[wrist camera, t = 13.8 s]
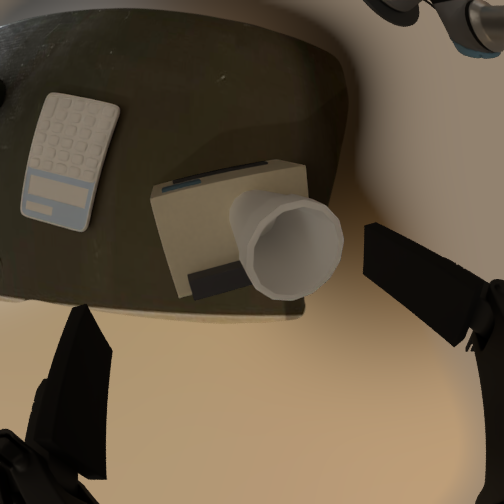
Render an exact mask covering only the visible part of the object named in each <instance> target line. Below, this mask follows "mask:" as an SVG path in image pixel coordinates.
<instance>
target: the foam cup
mask: <svg viewBox="0 0 504 504" xmlns="http://www.w3.org/2000/svg"><path fill="white" fill-rule="evenodd" d="M229 221H230V225H231V228H232V231H233V234H234V237H235V241H236V244H237V247H238V250H239V260H240V262H241V264H242V266H243V268H244V270H245V272H246V274H247V276H248V277H249V279H250V281H251V282H252V284H253V285H254V287H255V289H257V290H258V291H260V292H261V293H263V294H265V295H266V296H268V297H269V298H271V299H274V300H289V301H293V300H296V299H299V298H301V297H304V296H307V295H310V294H312V293H314V292H315V291H316V290H317V289H318V288H320V287H321V286H322V285H323V284H324V283H326V282H327V281H328V280H329V279H330V277H331V276H332V274H333V272H334V271H335V269H336V267H337V265H338V264H339V262H340V260H341V254H342V248H343V243H344V237H343V233H342V229H341V225H340V221H339V219H338V218H337V217H336V216H335V215H334V214H333V213H332V212H331V211H330V210H329V208H328V207H327V206H326V205H324V204H322V203H320V202H318V201H315V200H313V199H310V198H307V197H303V196H299V195H296V194H288V195H285V194H280V193H274V192H268V191H262V190H255V189H254V190H250V191H246V192H243V193H242V194H240V195H239V196H238V197H237V198H235V199H234V201H233V203H232V205H231V207H230V210H229Z"/></svg>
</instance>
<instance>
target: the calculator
mask: <svg viewBox="0 0 504 504" xmlns="http://www.w3.org/2000/svg"><path fill="white" fill-rule="evenodd" d="M119 115H120V108H119V107H118V106H117V105H114V104H111V103H107V102H102V101H98V100H93V99H88V98H84V97H78V96H73V95H68V94H62V93H50V94H49V95H48V96H47V97H46V99H45V102H44V105H43V108H42V111H41V114H40V117H39V120H38V123H37V127H36V130H35V134H34V138H33V141H32V145H31V149H30V154H29V158H28V163H27V168H26V173H25V178H24V184H23V191H22V198H21V213H22V215H24V216H26V217H28V218H32V219H35V220H39V221H42V222H46V223H49V224H53V225H56V226H60V227H63V228H67V229H71V230H74V231H79V232H83V231H85V230H86V229H87V228H88V225H89V222H90V217H91V212H92V207H93V203H94V198H95V194H96V190H97V186H98V182H99V178H100V174H101V171H102V167H103V164H104V160H105V157H106V153H107V150H108V147H109V144H110V141H111V138H112V135H113V132H114V129H115V126H116V123H117V121H118V118H119Z"/></svg>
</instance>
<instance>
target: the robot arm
mask: <svg viewBox="0 0 504 504" xmlns="http://www.w3.org/2000/svg"><path fill="white" fill-rule="evenodd" d="M379 1H381V2H382V3H383V4H384V5H385V6H387V7H388V8H390V9H392V10H394V11H396V12H406V11H410V10H411V9H413V8H414V7H415V6H416V5H417V4H418V3H419V2H421V1H422V0H379ZM423 1H425V2H427V3H428V4H429V5H431V6H432V7H433V8H434V9H436V11H437V13H438V14H439V17H440V18H441V20H442V22H443V24H444V26H445V28H446V30H447V32H448V34H449V37H450V39H451V40H452V41H453V43H454V45H455V47H456V49H457V50H458V51H459V52H460V53H461V54H463V55H465V56H468V57H473V58H484V59H487V58H495V57H497V56H499V55H500V54H501V51H503V50H504V6H491V5H490V4H489V3H487V2H485V1H483V0H430V1H431V2H432V4H433V5H432V4H431V3H430V2H428V1H427V0H423ZM364 227H365V229H364V230H365V231H364V265H363V274H364V275H365V276H366V277H367V278H369V279H370V280H371V281H373V282H374V283H375V284H377V285H378V286H379V287H381V288H382V289H383V290H384V291H386V292H387V293H388V294H390V295H391V296H392V297H393V298H395V299H396V300H397V301H398V302H400V303H401V304H402V305H404V306H405V307H406V308H407V309H409V310H410V311H411V312H412V313H414V314H415V315H416V316H417V317H418V318H420V319H421V320H422V321H423V322H425V323H426V324H427V325H428V326H429V327H431V328H432V329H433V330H434V331H435V332H437V333H438V334H439V335H440V336H441V337H443V338H444V339H445V340H446V341H447V342H449V343H450V344H451V345H452V346H453V347H455V346H456V345H458V344H459V343H460V342H461V341H462V340H463V339H464V338H465V336H466V334H467V331H468V329H469V327H470V328H471V329H472V330H473V332H472V334H471V337H470V339H469V341H468V343H467V346H466V352H467V351H468V349H469V347H470V345H471V344H473V346H472V348H471V351H474V352H475V356H476V361H477V366H478V371H479V377H480V384H481V390H482V398H483V406H484V417H485V433H486V474H485V484H484V487H483V489H482V491H481V492H480V494H479V495H478V497H477V500H476V502H475V504H504V280H500V279H494V280H492V281H491V282H490V283H488V282H486V281H484V280H483V279H481V278H480V277H478V276H476V275H475V274H473V273H471V272H470V271H468V270H466V269H463V267H461V266H460V265H456V263H454V262H453V261H451V260H449V259H447V258H444V257H442V256H440V255H438V254H436V253H435V252H433V251H431V250H429V249H427V248H425V247H424V246H422V245H420V244H418V243H416V242H414V241H412V240H410V239H408V238H406V237H404V236H402V235H400V234H399V233H396V232H395V231H393V230H390V229H389V228H386V227H385V226H382V225H380V224H378V223H376V222H375V223H372V224H368V225H365V226H364ZM112 352H113V351H112V349H111V347H110V346H109V344H108V342H107V341H106V339H105V337H104V335H103V334H102V332H101V330H100V328H99V327H98V325H97V323H96V321H95V319H94V317H93V315H92V313H91V312H90V310H89V308H88V306H87V304H84V305H80V306H77V307H73V308H72V310H71V312H70V315H69V317H68V320H67V322H66V325H65V328H64V330H63V333H62V336H61V338H60V341H59V344H58V347H57V350H56V353H55V355H54V358H53V362H52V365H51V368H50V371H49V374H48V378H47V379H43V381H42V382H41V384H40V386H39V387H38V388H37V391H36V395H35V398H34V403H33V406H32V412H31V414H30V418H29V423H28V427H27V432H26V437H25V442H24V441H23V440H21V439H20V438H19V437H18V436H17V435H15V434H14V433H13V432H12V431H11V430H8V429H2V430H0V504H99V503H98V502H97V501H96V499H95V498H94V497H93V496H92V495H91V493H90V492H89V491H88V490H87V489H86V487H85V486H84V485H83V484H82V483H81V482H80V481H78V473H79V474H80V475H82V476H84V477H85V478H87V479H90V480H96V479H97V480H106V479H107V476H106V419H107V400H108V388H109V377H110V368H111V359H112Z"/></svg>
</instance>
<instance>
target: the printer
mask: <svg viewBox="0 0 504 504" xmlns="http://www.w3.org/2000/svg"><path fill="white" fill-rule="evenodd" d="M254 189H255V190H262V191H268V192H274V193H280V194H285V195H288V194H296V195H299V196H303V197H307V198H309V197H308V185H307V175H306V166H305V165H301V164H297V163H292V162H288V161H283V160H278V159H275V160H269V161H261V162H256V163H250V164H245V165H239V166H234V167H229V168H224V169H220V170H215V171H210V172H206V173H201V174H197V175H193V176H188V177H184V178H180V179H176V180H173V181H169V182H166V183H162V184H158V185H154V186H153V190H152V193H151V197H150V201H151V205H152V209H153V213H154V217H155V221H156V224H157V228H158V231H159V235H160V238H161V242H162V245H163V249H164V252H165V256H166V259H167V262H168V265H169V269H170V272H171V275H172V278H173V281H174V284H175V287H176V290H177V293H178V296H179V298H181V297H184V296H188V295H193V298H194V300H199V299H203V298H206V297H210V296H213V295H217V294H221V293H224V292H228V291H231V290H235V289H238V288H242V287H245V286H249V285H252V282H251V281H250V279H249V277H248V276H247V274H246V272H245V270H244V268H243V266H242V264H241V262H240V260H239V250H238V247H237V244H236V241H235V237H234V234H233V231H232V228H231V225H230V221H229V210H230V207H231V205H232V203H233V201H234V199H235V198H237V197H238V196H239V195H240V194H242V193H243V192H246V191H250V190H254Z"/></svg>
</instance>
